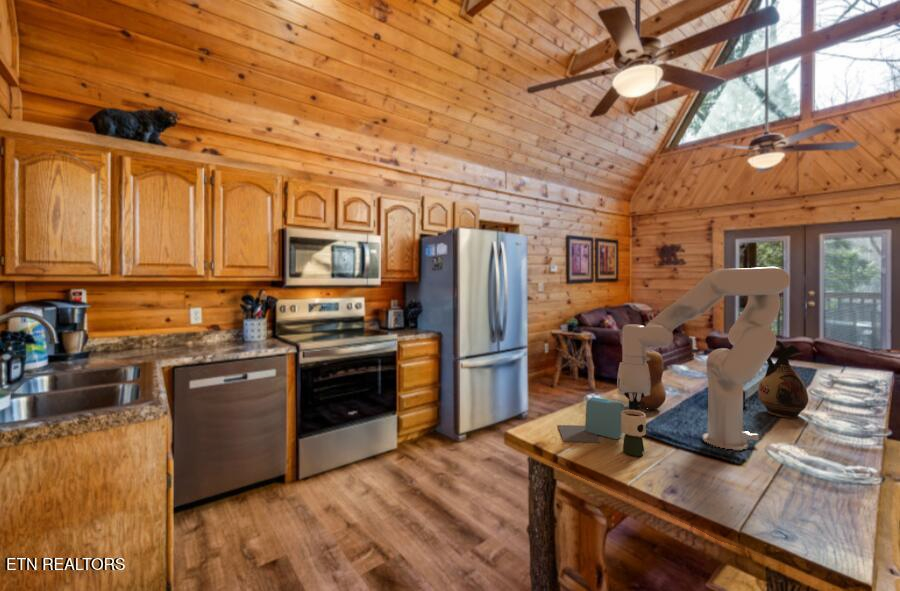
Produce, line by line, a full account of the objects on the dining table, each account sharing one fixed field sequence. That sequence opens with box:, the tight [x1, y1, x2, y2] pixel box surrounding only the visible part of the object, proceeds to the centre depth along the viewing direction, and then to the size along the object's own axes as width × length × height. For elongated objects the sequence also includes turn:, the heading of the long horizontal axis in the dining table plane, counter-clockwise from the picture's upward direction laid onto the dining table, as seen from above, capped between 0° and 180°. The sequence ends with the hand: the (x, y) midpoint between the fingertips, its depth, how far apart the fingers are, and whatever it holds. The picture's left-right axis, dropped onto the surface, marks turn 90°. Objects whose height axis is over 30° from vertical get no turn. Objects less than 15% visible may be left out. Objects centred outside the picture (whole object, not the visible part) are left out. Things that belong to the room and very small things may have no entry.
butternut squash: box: [632, 349, 667, 410], centre depth 170 cm, size 14×13×25 cm
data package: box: [584, 396, 625, 440], centre depth 142 cm, size 12×4×12 cm, turn 55°
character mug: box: [621, 409, 647, 457], centre depth 127 cm, size 11×7×13 cm, turn 134°
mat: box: [557, 424, 601, 444], centre depth 144 cm, size 12×15×1 cm
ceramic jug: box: [757, 339, 809, 420], centre depth 160 cm, size 17×15×30 cm
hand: (633, 411), depth 141 cm, fingers closed
